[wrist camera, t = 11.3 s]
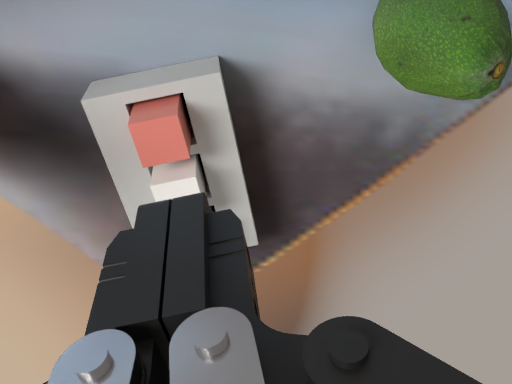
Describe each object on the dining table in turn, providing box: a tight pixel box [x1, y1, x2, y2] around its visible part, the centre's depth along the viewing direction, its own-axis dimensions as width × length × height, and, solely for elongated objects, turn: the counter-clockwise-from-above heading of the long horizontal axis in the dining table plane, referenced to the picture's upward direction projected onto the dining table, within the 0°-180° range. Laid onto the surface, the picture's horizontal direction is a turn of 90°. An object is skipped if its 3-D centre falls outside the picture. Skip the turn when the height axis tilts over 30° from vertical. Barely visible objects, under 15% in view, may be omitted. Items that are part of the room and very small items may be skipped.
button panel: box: [81, 56, 258, 247], centre depth 38 cm, size 10×16×4 cm, turn 10°
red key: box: [128, 93, 191, 168], centre depth 33 cm, size 3×3×4 cm
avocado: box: [373, 0, 512, 100], centre depth 30 cm, size 8×8×12 cm
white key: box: [150, 154, 206, 202], centre depth 36 cm, size 3×3×4 cm
